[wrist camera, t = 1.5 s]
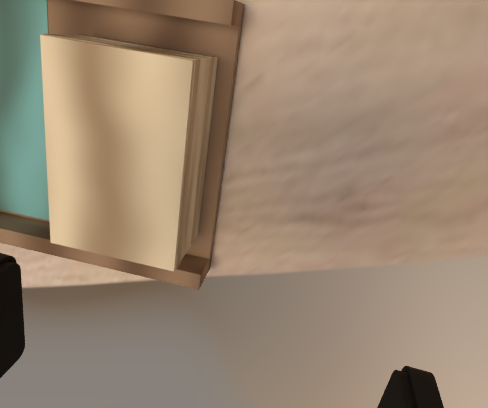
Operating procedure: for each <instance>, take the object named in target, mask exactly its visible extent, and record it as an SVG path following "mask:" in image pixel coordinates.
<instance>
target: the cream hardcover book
mask: <svg viewBox="0 0 488 408" xmlns="http://www.w3.org/2000/svg"><path fill="white" fill-rule="evenodd" d="M40 43H41V63H42V82H43V102H44V122H45V142H46V162H47V181H48V201H49V221H50V241H51V243H54V244H58V245H62V246H67V247H71V248H75V249H80V250H84V251H88V252H92V253H97V254H101V255H105V256H110V257H114V258H118V259H122V260H127V261H131V262H135V263H140V264H144V265H148V266H152V267H157V268H161V269H165V270H170V271H175V270H177V268H178V267H179V265H180V263H181V260H182V258H183V257H184V255H185V254H186V252H187V251H188V249H189V248H190V247H192V245H193V244H194V240H195V239H196V237H197V236H198V231H199V222H200V213H201V204H202V195H203V186H204V177H205V168H206V160H207V151H208V142H209V133H210V124H211V115H212V106H213V97H214V88H215V79H216V71H217V62H218V57H217V56H211V55H205V54H199V53H193V52H187V51H181V50H175V49H169V48H163V47H158V46H152V45H146V44H140V43H134V42H128V41H122V40H116V39H110V38H104V37H98V36H90V35H83V34H75V35H57V34H43V35H40Z"/></svg>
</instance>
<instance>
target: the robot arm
mask: <svg viewBox="0 0 488 408" xmlns="http://www.w3.org/2000/svg"><path fill="white" fill-rule="evenodd" d="M24 348H25V336H24V319H23V302H22V285H21V269H20V266H19V265H18V264H17V263H16V260H15V258H14V257H12V256H9V255H6V254H2V253H0V378H1V377H2V376H3V375H4V374H5V373H6V372H7V371H8V370H9V369H10V368H11V367H12V365H13V364H14V363H15V362H16V361H17V360H18V359H19V358H20V356H21V355H22V353H23V351H24ZM378 408H444V407H443V403H442V400H441V397H440V393H439V390H438V387H437V383H436V380H435V377H434V375H433V374H432V373H430V372H427V371H423V370H419V369H416V368H412V367H409V366H405V367H404V368H403V369H402V371H398V370H395V371H394V372H393V373H392V375H391V378H390V380H389V382H388V385H387V387H386V389H385V391H384V394H383V396H382V398H381V401H380V403H379V405H378Z"/></svg>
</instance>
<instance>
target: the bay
mask: <svg viewBox="0 0 488 408" xmlns="http://www.w3.org/2000/svg"><path fill="white" fill-rule="evenodd" d="M244 5H245V4H242V3H240V2H238V1H235V0H0V243H4V244H8V245H13V246H17V247H21V248H25V249H29V250H34V251H38V252H42V253H46V254H51V255H55V256H59V257H63V258H67V259H72V260H76V261H80V262H84V263H89V264H93V265H97V266H101V267H105V268H110V269H114V270H118V271H122V272H127V273H131V274H135V275H139V276H143V277H148V278H152V279H156V280H160V281H165V282H169V283H173V284H177V285H181V286H186V287H190V288H194V289H198V290H199V288H200V287H201V285H202V283H203V280H204V279H205V277H206V275H207V273H208V271H209V269H210V266H211V258H212V250H213V243H214V235H215V227H216V220H217V212H218V204H219V197H220V189H221V181H222V174H223V166H224V158H225V151H226V143H227V135H228V128H229V120H230V113H231V105H232V97H233V90H234V82H235V74H236V67H237V59H238V51H239V44H240V36H241V28H242V21H243V13H244ZM43 34H57V35H75V34H83V35H90V36H98V37H104V38H110V39H116V40H122V41H128V42H134V43H140V44H146V45H152V46H158V47H163V48H169V49H175V50H181V51H187V52H193V53H199V54H205V55H211V56H217V57H218V62H217V71H216V79H215V88H214V97H213V106H212V115H211V124H210V133H209V142H208V151H207V160H206V168H205V177H204V186H203V195H202V204H201V213H200V222H199V231H198V236H197V237H196V239H195V240H194V244H193V245H192V247H190V248H189V249H188V251H187V252H186V254H185V255H184V257H183V258H182V260H181V263H180V265H179V267H178V268H177V270H175V271H170V270H165V269H161V268H157V267H152V266H148V265H144V264H140V263H135V262H131V261H127V260H122V259H118V258H114V257H110V256H105V255H101V254H97V253H92V252H88V251H84V250H80V249H75V248H71V247H67V246H62V245H58V244H54V243H51V241H50V221H49V201H48V181H47V162H46V142H45V122H44V102H43V82H42V63H41V43H40V35H43Z"/></svg>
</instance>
